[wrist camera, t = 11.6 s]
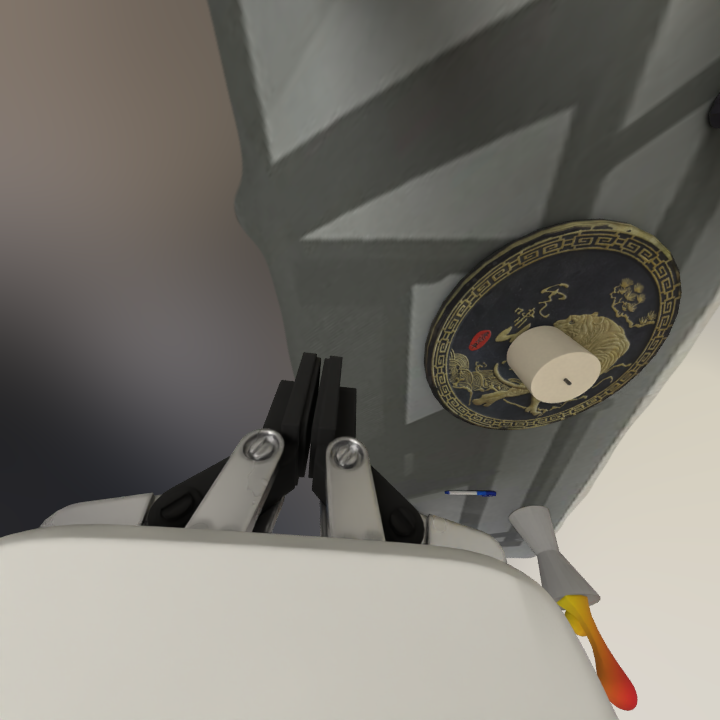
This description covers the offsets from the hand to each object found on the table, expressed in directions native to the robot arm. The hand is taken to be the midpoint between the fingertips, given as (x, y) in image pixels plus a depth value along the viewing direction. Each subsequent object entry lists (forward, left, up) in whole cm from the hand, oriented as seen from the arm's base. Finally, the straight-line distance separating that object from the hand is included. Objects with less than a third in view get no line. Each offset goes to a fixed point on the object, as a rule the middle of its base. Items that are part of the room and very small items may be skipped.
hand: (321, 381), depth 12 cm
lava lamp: (+47, +49, -22) cm, 72 cm away
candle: (+6, +25, -20) cm, 33 cm away
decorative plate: (+6, +27, -22) cm, 35 cm away
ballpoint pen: (+41, +32, -22) cm, 56 cm away
